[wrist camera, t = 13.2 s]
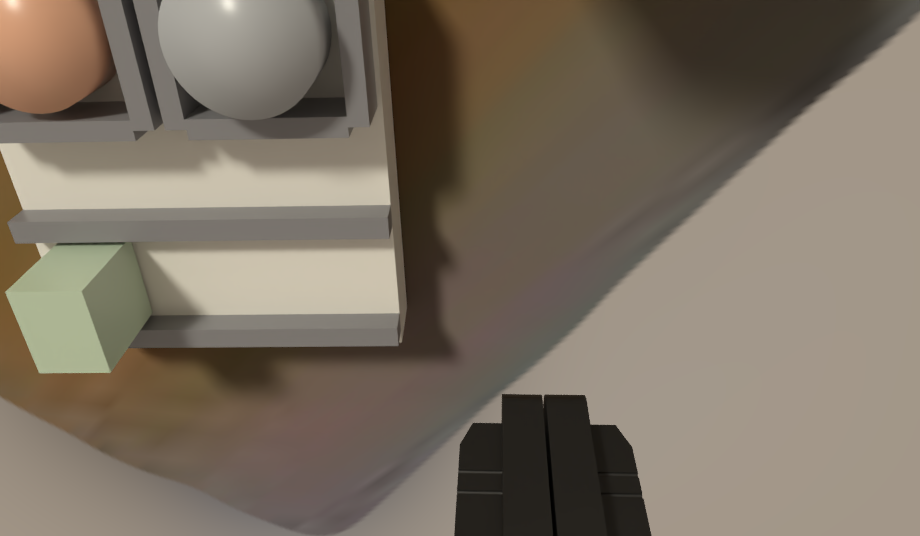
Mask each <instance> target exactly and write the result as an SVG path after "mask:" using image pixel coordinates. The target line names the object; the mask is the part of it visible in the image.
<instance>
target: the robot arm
mask: <svg viewBox="0 0 920 536" xmlns="http://www.w3.org/2000/svg"><path fill="white" fill-rule="evenodd" d="M455 536H651V532H650V527H649V523H648V518H647V513H646V509H645V504H644V500H643V499H642V491H641V486H640V481H639V478H638V472H637V468H636V463H635V458H634V454H633V449H632V446H631V445H630V444H629V443H628V441H627V440H626V439H625V438H624V436H623V435H622V433H621V432H620V431H619V429H618V428H617V427H616V425H590V420H589V413H588V407H587V401H586V397H585V395H545V396H544V404H543V401H542V395H519V394H518V395H516V394H502V423H501V424H500V423H473V424H472V425H471V427H470V429H469V431H468V432H467V434H466V435H465V437H464V439H463V440H462V442H461V444H460V454H459V472H458V486H457V502H456V518H455Z"/></svg>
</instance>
